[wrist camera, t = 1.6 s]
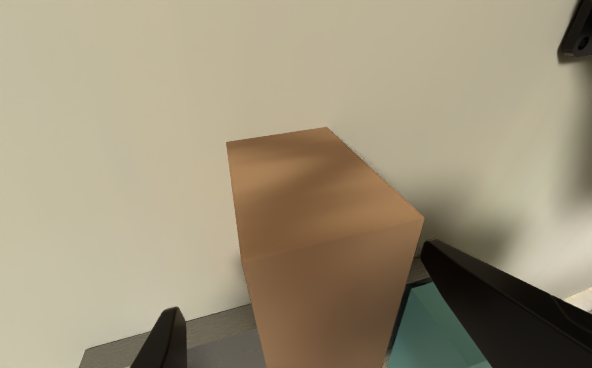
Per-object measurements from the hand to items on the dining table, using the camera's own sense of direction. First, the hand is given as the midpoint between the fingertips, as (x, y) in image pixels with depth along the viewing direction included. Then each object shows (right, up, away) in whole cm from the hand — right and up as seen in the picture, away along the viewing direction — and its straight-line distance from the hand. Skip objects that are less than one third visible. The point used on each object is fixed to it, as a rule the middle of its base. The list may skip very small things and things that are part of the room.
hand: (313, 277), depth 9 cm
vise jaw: (+8, -7, +9) cm, 14 cm away
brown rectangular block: (-1, +2, +3) cm, 4 cm away
